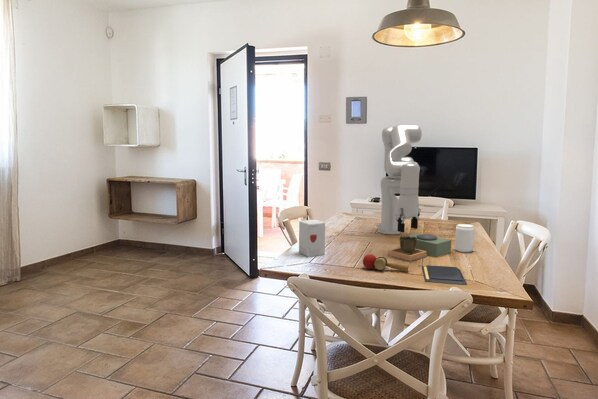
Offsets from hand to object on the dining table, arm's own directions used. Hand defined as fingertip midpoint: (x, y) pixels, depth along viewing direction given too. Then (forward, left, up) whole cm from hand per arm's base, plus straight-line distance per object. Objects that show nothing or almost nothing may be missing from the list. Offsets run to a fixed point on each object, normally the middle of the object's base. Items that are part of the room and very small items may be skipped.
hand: (407, 229), depth 184 cm
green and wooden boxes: (+1, +7, -12) cm, 14 cm away
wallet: (+25, -11, -13) cm, 30 cm away
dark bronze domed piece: (0, 0, -12) cm, 12 cm away
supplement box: (-30, -29, -12) cm, 44 cm away
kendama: (+6, -23, -12) cm, 27 cm away
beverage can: (+12, +29, -12) cm, 33 cm away
